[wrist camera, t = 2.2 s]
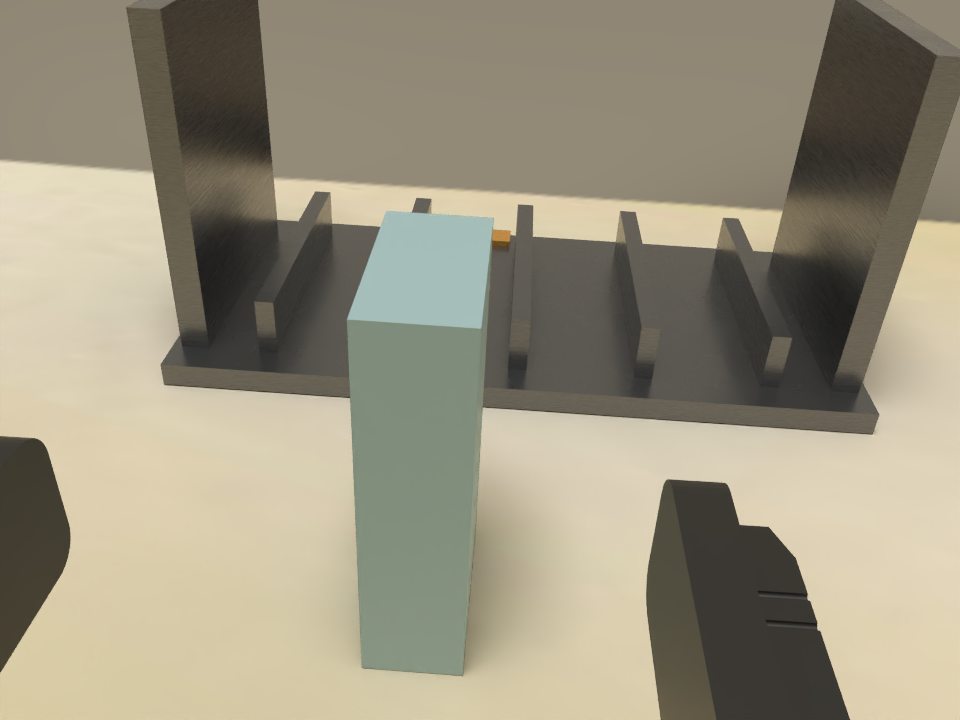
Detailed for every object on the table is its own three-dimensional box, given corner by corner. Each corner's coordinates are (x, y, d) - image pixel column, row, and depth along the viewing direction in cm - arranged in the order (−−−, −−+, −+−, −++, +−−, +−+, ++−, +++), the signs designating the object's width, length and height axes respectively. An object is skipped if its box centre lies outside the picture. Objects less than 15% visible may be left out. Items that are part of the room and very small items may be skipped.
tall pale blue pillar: (362, 667, 26) (347, 319, 20) (390, 526, 31) (386, 210, 25) (462, 675, 26) (481, 328, 20) (475, 532, 31) (493, 217, 25)
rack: (164, 384, 38) (96, 15, 30) (259, 233, 51) (230, -54, 42) (872, 433, 37) (1003, 70, 29) (787, 268, 50) (862, -17, 42)
